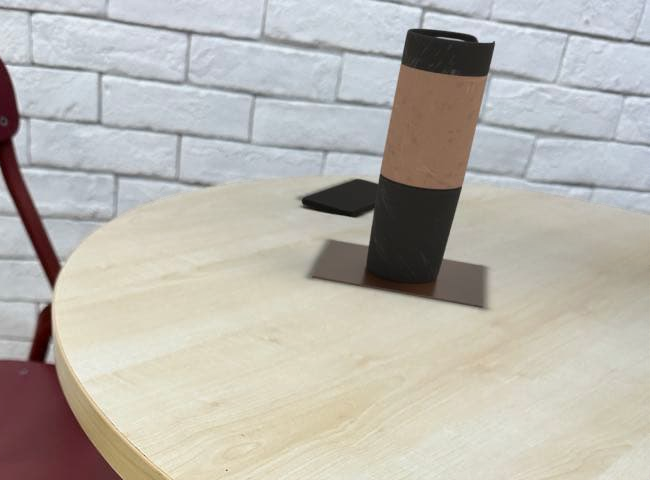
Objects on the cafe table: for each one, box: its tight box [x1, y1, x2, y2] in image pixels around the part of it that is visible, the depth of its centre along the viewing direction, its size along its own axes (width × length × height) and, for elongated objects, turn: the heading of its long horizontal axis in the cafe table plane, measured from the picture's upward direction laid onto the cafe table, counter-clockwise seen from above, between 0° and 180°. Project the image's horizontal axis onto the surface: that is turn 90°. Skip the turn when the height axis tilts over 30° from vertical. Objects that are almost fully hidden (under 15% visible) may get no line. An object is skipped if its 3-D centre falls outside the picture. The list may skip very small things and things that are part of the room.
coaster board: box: [311, 239, 485, 309], centre depth 83 cm, size 16×12×1 cm
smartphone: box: [301, 178, 378, 218], centre depth 105 cm, size 7×1×15 cm
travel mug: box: [366, 28, 496, 283], centre depth 77 cm, size 8×8×20 cm
